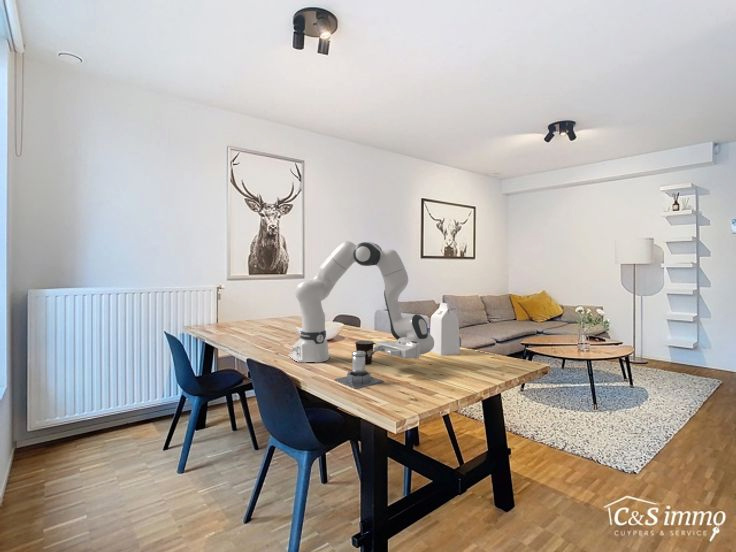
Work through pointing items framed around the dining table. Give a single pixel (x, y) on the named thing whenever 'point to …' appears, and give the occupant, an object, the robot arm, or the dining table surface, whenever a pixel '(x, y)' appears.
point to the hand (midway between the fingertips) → (381, 351)
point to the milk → (445, 331)
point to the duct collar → (359, 380)
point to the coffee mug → (366, 349)
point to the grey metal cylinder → (358, 363)
